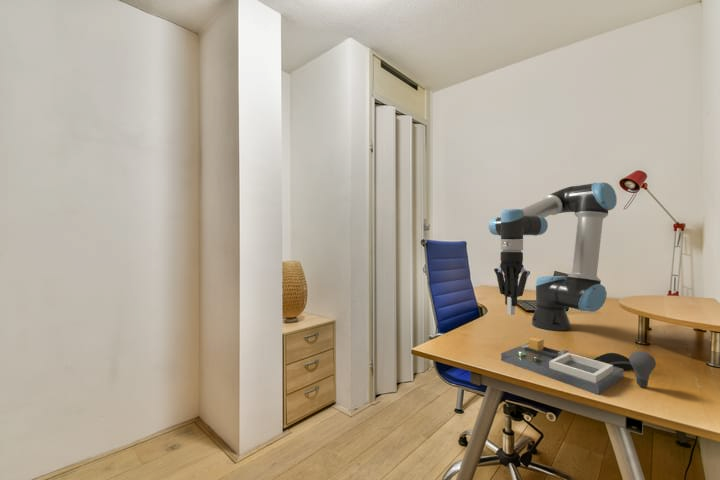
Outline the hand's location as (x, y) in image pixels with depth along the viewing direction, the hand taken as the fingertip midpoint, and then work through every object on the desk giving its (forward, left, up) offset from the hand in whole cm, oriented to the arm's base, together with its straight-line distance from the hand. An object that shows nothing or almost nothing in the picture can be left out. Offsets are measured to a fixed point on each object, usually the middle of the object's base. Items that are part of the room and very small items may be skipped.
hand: (510, 314), depth 117 cm
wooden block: (0, +9, -10) cm, 14 cm away
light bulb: (-2, +37, -13) cm, 39 cm away
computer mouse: (-13, +27, -14) cm, 33 cm away
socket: (+6, +25, -11) cm, 28 cm away
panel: (+4, +18, -13) cm, 23 cm away
